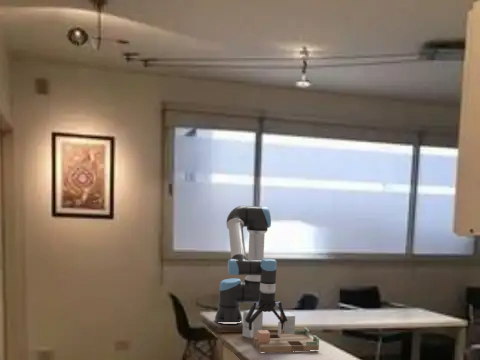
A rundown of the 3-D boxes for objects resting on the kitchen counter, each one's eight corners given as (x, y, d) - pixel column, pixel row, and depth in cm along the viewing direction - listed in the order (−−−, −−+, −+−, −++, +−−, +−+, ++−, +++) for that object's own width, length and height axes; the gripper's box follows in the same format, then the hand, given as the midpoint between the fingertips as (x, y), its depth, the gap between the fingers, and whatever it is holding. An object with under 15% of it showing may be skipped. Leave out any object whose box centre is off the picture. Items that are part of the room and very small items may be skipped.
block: (257, 338, 236) (257, 330, 236) (267, 338, 237) (267, 330, 237) (259, 341, 231) (259, 333, 231) (269, 341, 232) (270, 333, 232)
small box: (279, 332, 259) (280, 312, 259) (289, 331, 260) (290, 311, 260) (284, 336, 251) (285, 316, 251) (294, 336, 252) (295, 315, 252)
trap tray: (251, 340, 242) (252, 328, 242) (305, 339, 248) (306, 327, 248) (260, 353, 225) (261, 339, 225) (318, 351, 230) (319, 338, 231)
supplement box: (250, 333, 255) (251, 308, 255) (262, 336, 250) (263, 311, 250) (241, 336, 249) (242, 311, 249) (253, 339, 244) (254, 313, 244)
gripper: (243, 293, 228) (241, 339, 228) (295, 293, 234) (293, 338, 233) (240, 290, 236) (238, 334, 235) (290, 290, 241) (288, 333, 241)
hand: (265, 336), depth 234 cm, fingers open, 13 cm apart
